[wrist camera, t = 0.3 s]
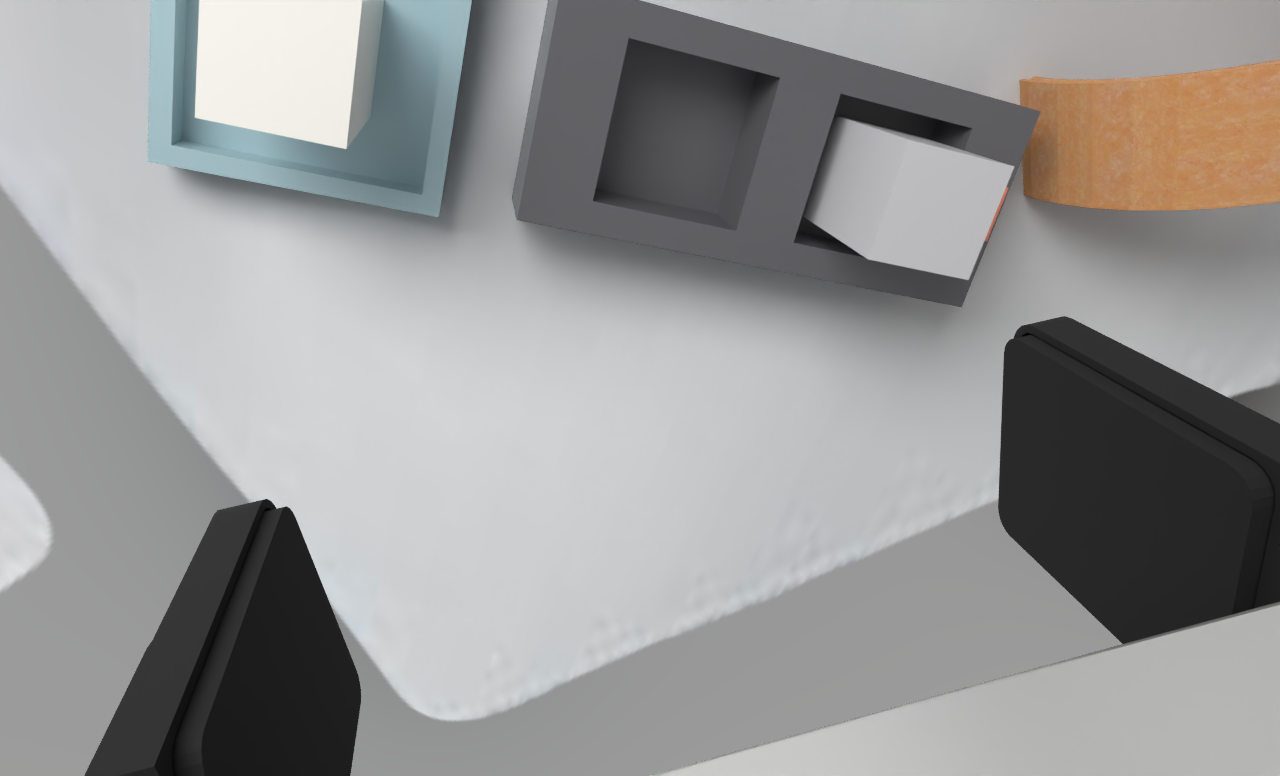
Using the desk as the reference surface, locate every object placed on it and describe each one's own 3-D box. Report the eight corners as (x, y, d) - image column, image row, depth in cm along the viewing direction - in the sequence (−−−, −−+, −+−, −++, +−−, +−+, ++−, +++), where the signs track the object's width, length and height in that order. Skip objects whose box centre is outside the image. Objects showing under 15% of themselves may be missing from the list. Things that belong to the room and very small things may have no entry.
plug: (260, -33, 32) (200, -40, 24) (384, -1, 33) (362, 0, 26) (252, 90, 33) (194, 117, 26) (370, 116, 34) (346, 149, 27)
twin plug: (825, 112, 37) (910, 139, 30) (913, 134, 39) (1014, 166, 32) (794, 210, 39) (868, 259, 32) (879, 229, 40) (968, 280, 33)
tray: (172, -157, 30) (154, -166, 28) (482, -68, 33) (482, -72, 31) (164, 152, 34) (147, 161, 32) (439, 206, 37) (438, 217, 35)
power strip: (552, -20, 34) (564, -22, 30) (989, 100, 40) (1052, 113, 35) (511, 198, 37) (517, 224, 33) (920, 281, 43) (970, 312, 39)
